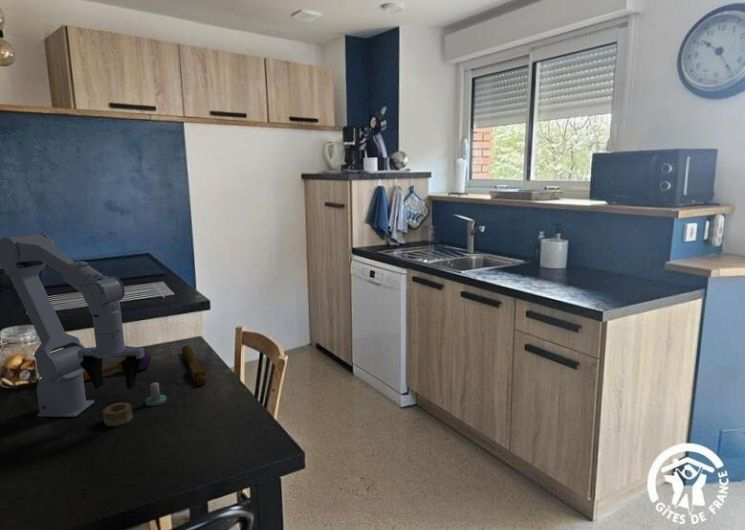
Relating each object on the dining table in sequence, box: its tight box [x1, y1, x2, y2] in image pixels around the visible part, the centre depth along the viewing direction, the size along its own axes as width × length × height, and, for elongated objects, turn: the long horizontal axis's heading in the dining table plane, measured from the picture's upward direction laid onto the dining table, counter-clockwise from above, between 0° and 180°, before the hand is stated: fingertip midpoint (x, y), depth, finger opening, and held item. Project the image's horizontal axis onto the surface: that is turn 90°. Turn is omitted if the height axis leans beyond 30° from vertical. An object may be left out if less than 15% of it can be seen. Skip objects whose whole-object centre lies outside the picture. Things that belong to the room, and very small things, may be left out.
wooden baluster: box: [181, 345, 207, 386], centre depth 147 cm, size 3×3×30 cm
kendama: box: [83, 349, 152, 382], centre depth 142 cm, size 6×6×20 cm
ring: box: [102, 402, 134, 427], centre depth 115 cm, size 6×6×3 cm
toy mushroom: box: [144, 382, 168, 407], centre depth 124 cm, size 5×5×5 cm
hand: (115, 387), depth 114 cm, fingers open, 7 cm apart
